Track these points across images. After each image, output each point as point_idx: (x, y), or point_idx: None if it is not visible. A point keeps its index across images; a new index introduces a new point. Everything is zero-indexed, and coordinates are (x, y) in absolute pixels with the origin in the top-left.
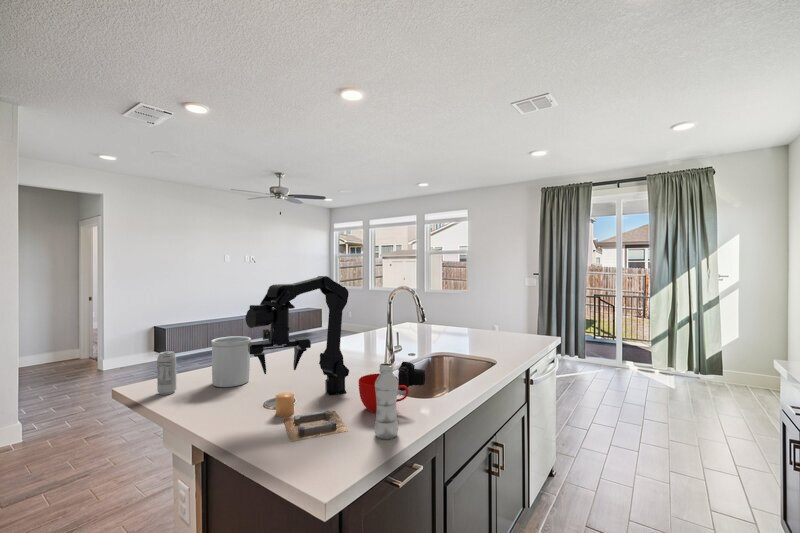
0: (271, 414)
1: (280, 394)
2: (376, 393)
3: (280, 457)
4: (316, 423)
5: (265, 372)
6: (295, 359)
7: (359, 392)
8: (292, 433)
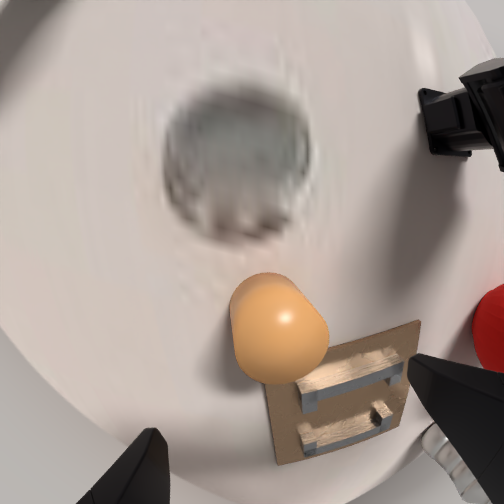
0: (211, 297)
1: (260, 326)
2: (458, 487)
3: (257, 488)
4: (353, 401)
5: (163, 460)
6: (464, 439)
7: (494, 342)
8: (285, 442)
